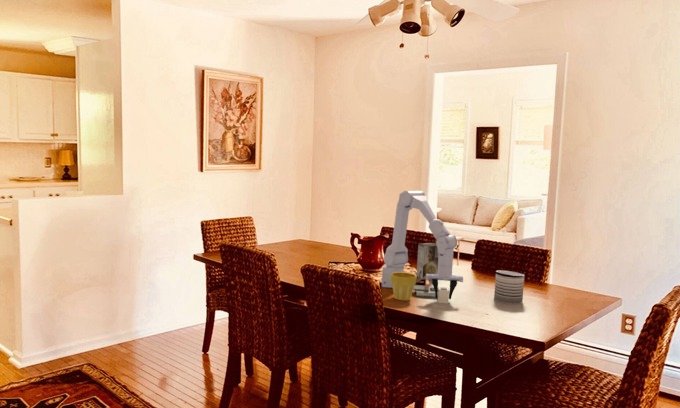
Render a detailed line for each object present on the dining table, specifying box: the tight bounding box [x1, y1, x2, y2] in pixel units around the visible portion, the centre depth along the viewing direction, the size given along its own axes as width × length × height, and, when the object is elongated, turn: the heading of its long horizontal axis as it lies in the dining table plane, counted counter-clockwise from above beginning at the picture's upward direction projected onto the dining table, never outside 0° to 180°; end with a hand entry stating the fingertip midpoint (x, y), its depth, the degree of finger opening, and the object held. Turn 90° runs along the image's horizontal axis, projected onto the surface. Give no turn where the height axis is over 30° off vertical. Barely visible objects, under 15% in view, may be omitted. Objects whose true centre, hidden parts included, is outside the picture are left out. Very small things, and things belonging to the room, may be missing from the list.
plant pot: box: [391, 271, 418, 301], centre depth 226 cm, size 10×10×10 cm
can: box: [493, 269, 525, 305], centre depth 230 cm, size 11×11×12 cm
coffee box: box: [416, 242, 439, 280], centre depth 264 cm, size 9×6×16 cm
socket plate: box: [415, 285, 442, 299], centre depth 235 cm, size 12×11×2 cm
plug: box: [437, 286, 450, 304], centre depth 224 cm, size 4×4×6 cm
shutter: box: [413, 279, 430, 291], centre depth 235 cm, size 6×6×3 cm
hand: (443, 298), depth 224 cm, fingers open, 5 cm apart
